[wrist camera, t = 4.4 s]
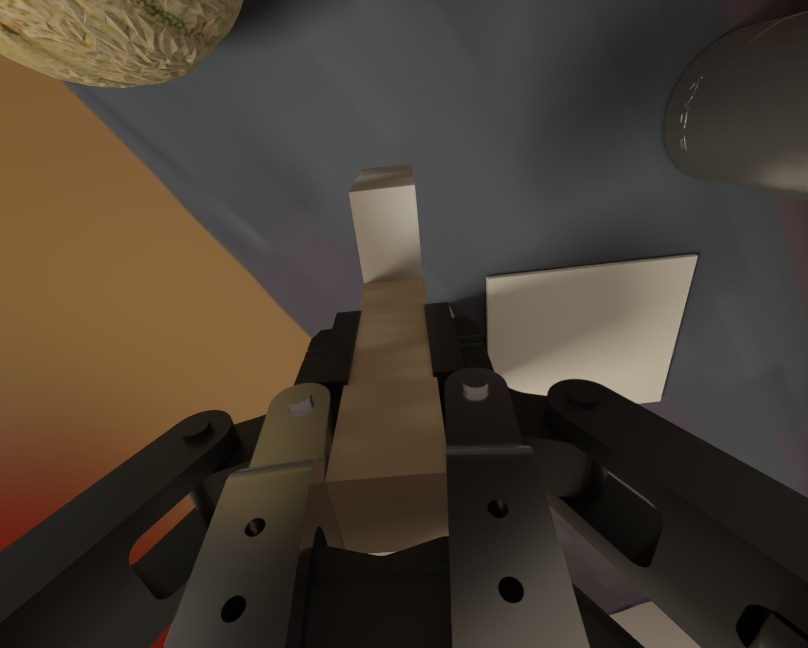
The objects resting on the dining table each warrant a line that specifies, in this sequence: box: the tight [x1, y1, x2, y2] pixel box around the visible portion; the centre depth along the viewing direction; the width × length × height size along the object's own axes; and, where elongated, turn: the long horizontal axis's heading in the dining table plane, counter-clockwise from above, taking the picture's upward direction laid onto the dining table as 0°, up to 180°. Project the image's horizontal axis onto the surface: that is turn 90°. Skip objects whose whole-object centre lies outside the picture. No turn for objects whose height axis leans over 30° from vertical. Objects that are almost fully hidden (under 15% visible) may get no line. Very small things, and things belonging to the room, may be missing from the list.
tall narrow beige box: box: [325, 164, 449, 554], centre depth 12 cm, size 2×8×13 cm, turn 6°
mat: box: [486, 254, 698, 404], centre depth 35 cm, size 17×15×1 cm
